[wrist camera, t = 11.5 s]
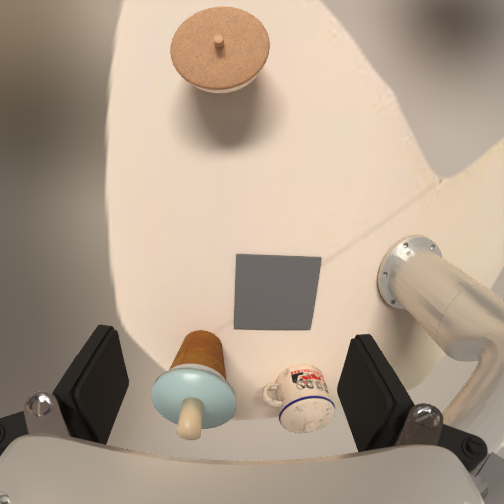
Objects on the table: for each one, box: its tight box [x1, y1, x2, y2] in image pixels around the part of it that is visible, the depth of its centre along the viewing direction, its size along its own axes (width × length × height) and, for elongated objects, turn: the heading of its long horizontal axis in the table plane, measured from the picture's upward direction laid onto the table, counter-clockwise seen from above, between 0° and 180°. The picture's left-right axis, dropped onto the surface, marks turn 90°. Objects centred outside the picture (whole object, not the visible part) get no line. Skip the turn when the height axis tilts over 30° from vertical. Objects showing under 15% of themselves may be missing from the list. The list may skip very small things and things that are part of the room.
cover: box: [151, 368, 236, 440], centre depth 32 cm, size 11×11×6 cm
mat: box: [234, 254, 321, 330], centre depth 44 cm, size 12×12×1 cm
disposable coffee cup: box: [169, 330, 226, 381], centre depth 41 cm, size 10×10×12 cm
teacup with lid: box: [262, 364, 335, 433], centre depth 44 cm, size 12×9×12 cm
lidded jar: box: [171, 7, 270, 93], centre depth 29 cm, size 11×11×9 cm
